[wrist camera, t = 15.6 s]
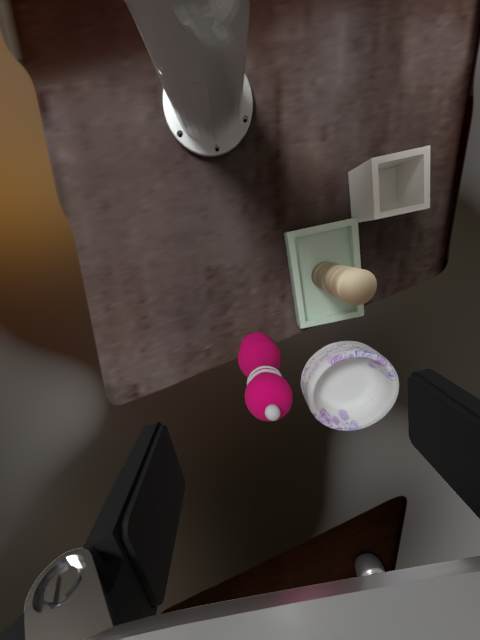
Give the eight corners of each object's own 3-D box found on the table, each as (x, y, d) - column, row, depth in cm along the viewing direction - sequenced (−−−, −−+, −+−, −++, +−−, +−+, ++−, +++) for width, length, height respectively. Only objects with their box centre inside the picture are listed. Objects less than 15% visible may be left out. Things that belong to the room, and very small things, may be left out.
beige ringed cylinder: (309, 264, 43) (339, 273, 31) (336, 258, 43) (375, 265, 31) (313, 291, 44) (342, 308, 33) (339, 285, 44) (377, 301, 33)
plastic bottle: (352, 568, 66) (401, 702, 47) (350, 550, 64) (402, 681, 45) (377, 564, 66) (437, 697, 47) (377, 546, 64) (439, 675, 45)
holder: (348, 172, 40) (371, 158, 34) (396, 161, 40) (430, 145, 33) (351, 223, 42) (374, 219, 36) (398, 213, 42) (429, 208, 36)
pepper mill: (279, 331, 47) (311, 391, 28) (273, 367, 49) (299, 446, 30) (239, 327, 47) (245, 385, 28) (235, 364, 49) (237, 441, 30)
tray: (283, 232, 43) (286, 232, 40) (350, 218, 42) (357, 217, 40) (297, 324, 47) (300, 328, 45) (357, 312, 47) (364, 315, 44)
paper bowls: (296, 408, 52) (307, 436, 44) (296, 336, 48) (309, 354, 40) (371, 403, 52) (395, 430, 45) (378, 331, 48) (406, 348, 40)
